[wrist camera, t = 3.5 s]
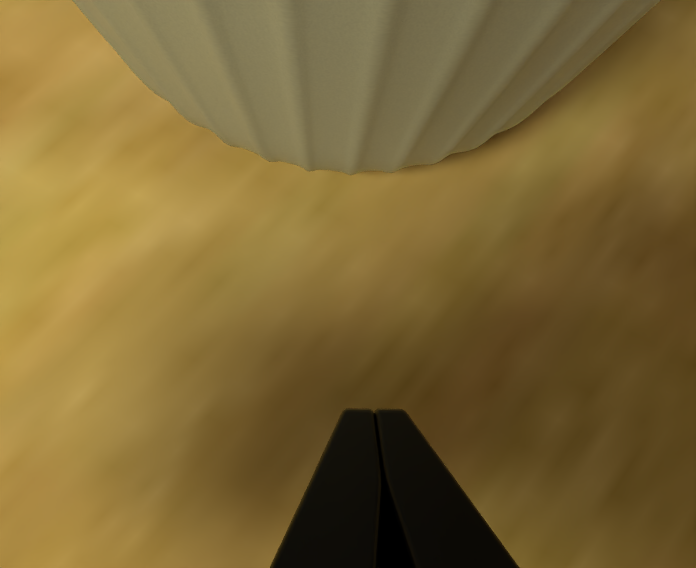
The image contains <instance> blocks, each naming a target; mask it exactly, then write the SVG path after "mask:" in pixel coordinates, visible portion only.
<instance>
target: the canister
mask: <svg viewBox="0 0 696 568" xmlns="http://www.w3.org/2000/svg"><path fill="white" fill-rule="evenodd" d="M659 1H660V0H73V2H74V3H75V4H76V5H77V6H78V8H79V9H80V10H81V11H82V12H83V14H84V15H85V16H86V17H87V18H88V20H89V21H90V22H91V23H92V24H93V26H94V27H95V28H96V29H97V30H98V31H99V33H100V34H101V35H102V36H103V37H104V38H105V40H106V41H107V42H108V43H109V44H110V45H111V46H112V47H113V49H114V50H115V51H116V52H117V53H118V55H119V56H120V57H121V58H122V59H123V60H124V62H125V63H126V64H127V65H128V66H129V68H130V69H131V70H132V71H133V72H134V73H135V74H136V76H137V77H138V78H139V79H140V80H141V81H142V82H143V83H144V84H145V85H146V86H147V87H148V88H149V89H151V90H152V91H153V92H154V93H155V94H157V95H158V96H160V97H162V98H163V99H165V100H167V101H169V102H170V103H171V105H172V106H173V107H174V108H175V109H176V110H177V111H178V112H179V113H180V114H181V115H182V116H183V117H184V118H185V119H186V120H188V121H189V122H191V123H193V124H195V125H197V126H200V127H203V128H207V129H209V130H211V131H212V132H214V133H215V134H216V135H217V136H218V137H219V138H220V139H221V140H222V141H223V142H224V143H226V144H228V145H230V146H233V147H239V148H244V149H247V150H250V151H252V152H254V153H257V154H258V155H260V156H261V157H262V158H264V159H266V160H267V161H269V162H278V161H281V162H287V163H291V164H294V165H297V166H300V167H302V168H304V169H305V170H307V171H315V170H332V171H339V172H343V173H346V174H348V175H354V174H356V173H359V172H364V171H383V172H388V173H393V172H395V171H398V170H400V169H401V168H405V167H409V166H414V165H420V164H421V165H432V164H435V163H438V162H439V161H441V160H442V159H444V158H445V157H446V156H448V155H450V154H453V153H456V152H465V151H470V150H472V149H475V148H477V147H479V146H480V145H482V144H483V143H485V142H486V141H487V140H489V139H490V138H491V137H492V136H493V135H494V134H496V133H500V132H503V131H505V130H508V129H510V128H512V127H514V126H515V125H517V124H518V123H520V122H522V121H523V120H524V119H526V118H527V117H528V116H529V115H531V114H532V113H533V112H534V111H535V110H536V109H538V108H539V107H540V106H541V105H542V104H543V103H544V102H545V101H547V100H548V99H549V98H551V97H552V96H554V95H555V94H556V93H557V92H559V91H560V90H561V89H562V88H564V87H565V86H566V85H567V84H568V83H569V82H571V81H572V80H573V79H574V78H575V77H576V76H577V75H579V74H580V73H581V72H582V71H583V70H584V69H585V68H586V67H587V66H589V65H590V64H591V63H592V62H593V61H594V60H595V59H596V58H597V57H599V56H600V55H601V54H602V53H603V52H604V51H605V50H606V49H607V48H609V47H610V46H611V45H612V44H613V43H614V42H615V41H616V40H617V39H619V38H620V37H621V36H622V35H623V34H624V33H625V32H626V31H627V30H629V29H630V28H631V27H632V26H633V25H634V24H635V23H636V22H637V21H638V20H640V19H641V18H642V17H643V16H644V15H645V14H646V13H647V12H648V11H649V10H651V9H652V8H653V7H654V6H655V5H656V4H657V3H658V2H659Z"/></svg>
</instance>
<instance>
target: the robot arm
mask: <svg viewBox="0 0 696 568" xmlns="http://www.w3.org/2000/svg"><path fill="white" fill-rule="evenodd" d="M270 568H519V566H518V565H517V564H516V562H515V561H514V560H513V558H512V557H511V556H510V554H509V553H508V551H507V550H506V549H505V547H504V546H503V545H502V543H501V542H500V540H499V539H498V538H497V536H496V535H495V534H494V532H493V531H492V529H491V528H490V527H489V525H488V524H487V523H486V521H485V520H484V518H483V517H482V516H481V514H480V513H479V512H478V510H477V509H476V507H475V506H474V505H473V503H472V502H471V501H470V499H469V498H468V496H467V495H466V494H465V492H464V491H463V490H462V488H461V487H460V485H459V484H458V483H457V481H456V480H455V479H454V477H453V476H452V474H451V473H450V472H449V470H448V469H447V468H446V466H445V465H444V463H443V462H442V461H441V459H440V458H439V457H438V455H437V454H436V452H435V451H434V450H433V448H432V447H431V446H430V444H429V443H428V441H427V440H426V439H425V437H424V436H423V435H422V433H421V432H420V430H419V429H418V428H417V426H416V425H415V424H414V422H413V421H412V419H411V418H410V417H409V415H408V414H407V413H406V412H405V411H404V410H402V409H377V410H376V411H375V412H374V413H373V411H372V410H371V409H367V408H347V409H345V410H344V411H343V412H342V413H341V415H340V418H339V420H338V422H337V424H336V426H335V428H334V431H333V433H332V435H331V437H330V439H329V441H328V443H327V446H326V448H325V450H324V452H323V454H322V456H321V459H320V461H319V463H318V465H317V467H316V469H315V471H314V474H313V476H312V478H311V480H310V482H309V484H308V487H307V489H306V491H305V493H304V495H303V497H302V499H301V502H300V504H299V506H298V508H297V510H296V512H295V514H294V517H293V519H292V521H291V523H290V525H289V527H288V530H287V532H286V534H285V536H284V538H283V540H282V542H281V545H280V547H279V549H278V551H277V553H276V555H275V558H274V560H273V562H272V564H271V566H270Z"/></svg>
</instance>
